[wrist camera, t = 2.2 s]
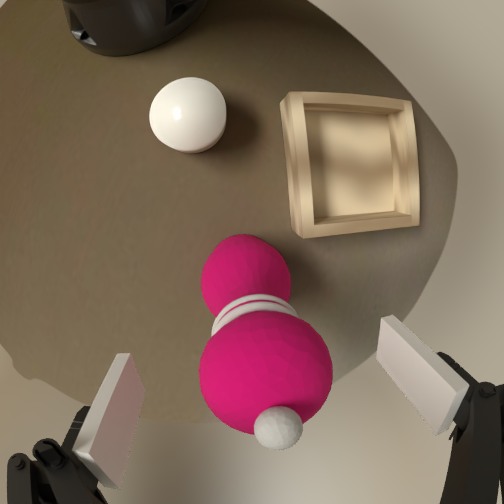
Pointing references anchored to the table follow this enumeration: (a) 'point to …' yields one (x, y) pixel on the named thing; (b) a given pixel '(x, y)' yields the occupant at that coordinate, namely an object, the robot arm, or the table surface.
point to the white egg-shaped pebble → (189, 115)
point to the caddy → (349, 163)
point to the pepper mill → (259, 346)
